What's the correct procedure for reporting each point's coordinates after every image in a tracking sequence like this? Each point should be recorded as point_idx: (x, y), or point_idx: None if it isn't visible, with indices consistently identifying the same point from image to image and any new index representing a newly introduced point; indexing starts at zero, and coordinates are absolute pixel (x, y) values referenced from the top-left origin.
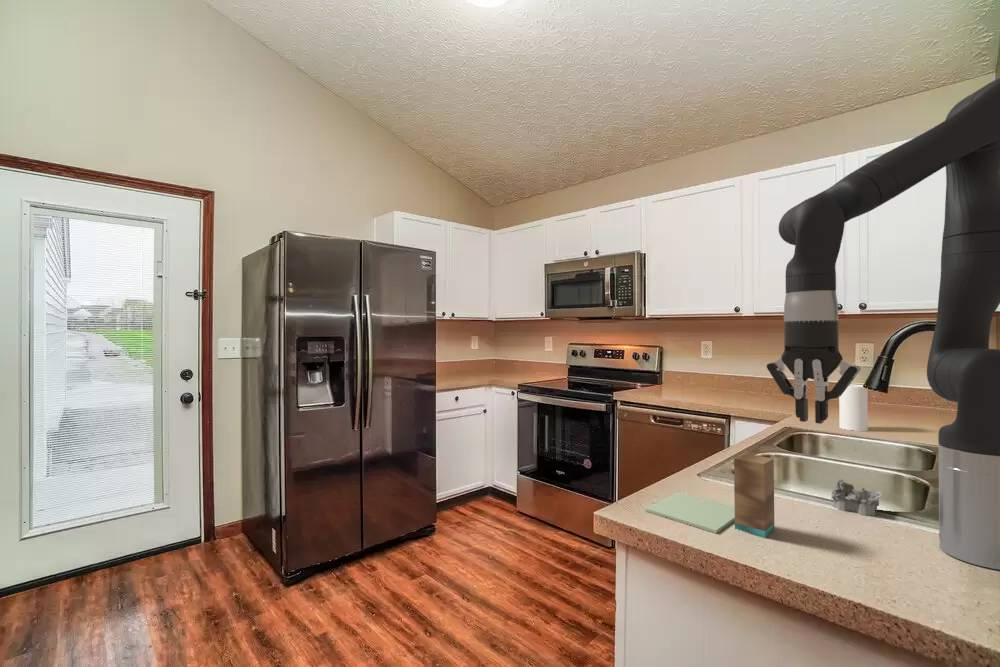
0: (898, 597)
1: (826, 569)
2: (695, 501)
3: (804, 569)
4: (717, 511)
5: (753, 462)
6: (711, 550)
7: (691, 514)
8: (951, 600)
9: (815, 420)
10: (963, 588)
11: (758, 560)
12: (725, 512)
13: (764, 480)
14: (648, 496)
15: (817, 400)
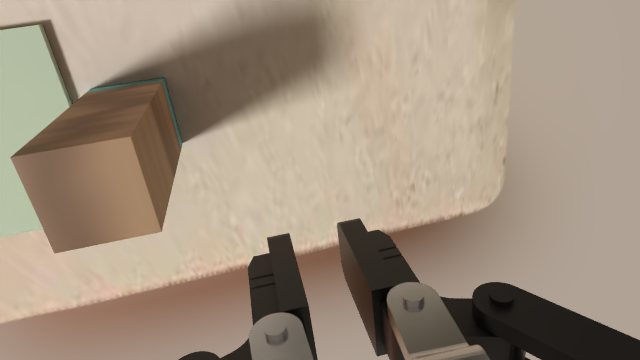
0: (415, 171)
1: (318, 174)
2: None
3: (296, 204)
4: (15, 112)
5: (126, 238)
6: (163, 275)
7: (2, 188)
8: (469, 115)
9: (347, 281)
10: (481, 51)
11: (234, 239)
12: (31, 100)
13: (167, 203)
14: None
15: (386, 346)
